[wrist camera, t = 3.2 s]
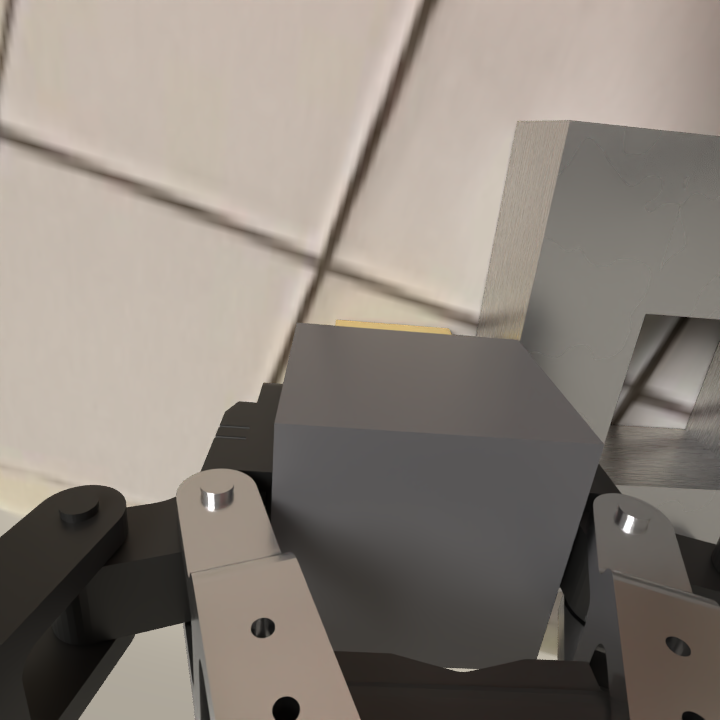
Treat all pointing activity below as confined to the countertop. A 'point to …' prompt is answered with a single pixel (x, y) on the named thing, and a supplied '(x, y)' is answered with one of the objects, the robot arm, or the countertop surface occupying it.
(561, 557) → the plug
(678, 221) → the socket plate
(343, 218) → the countertop surface
